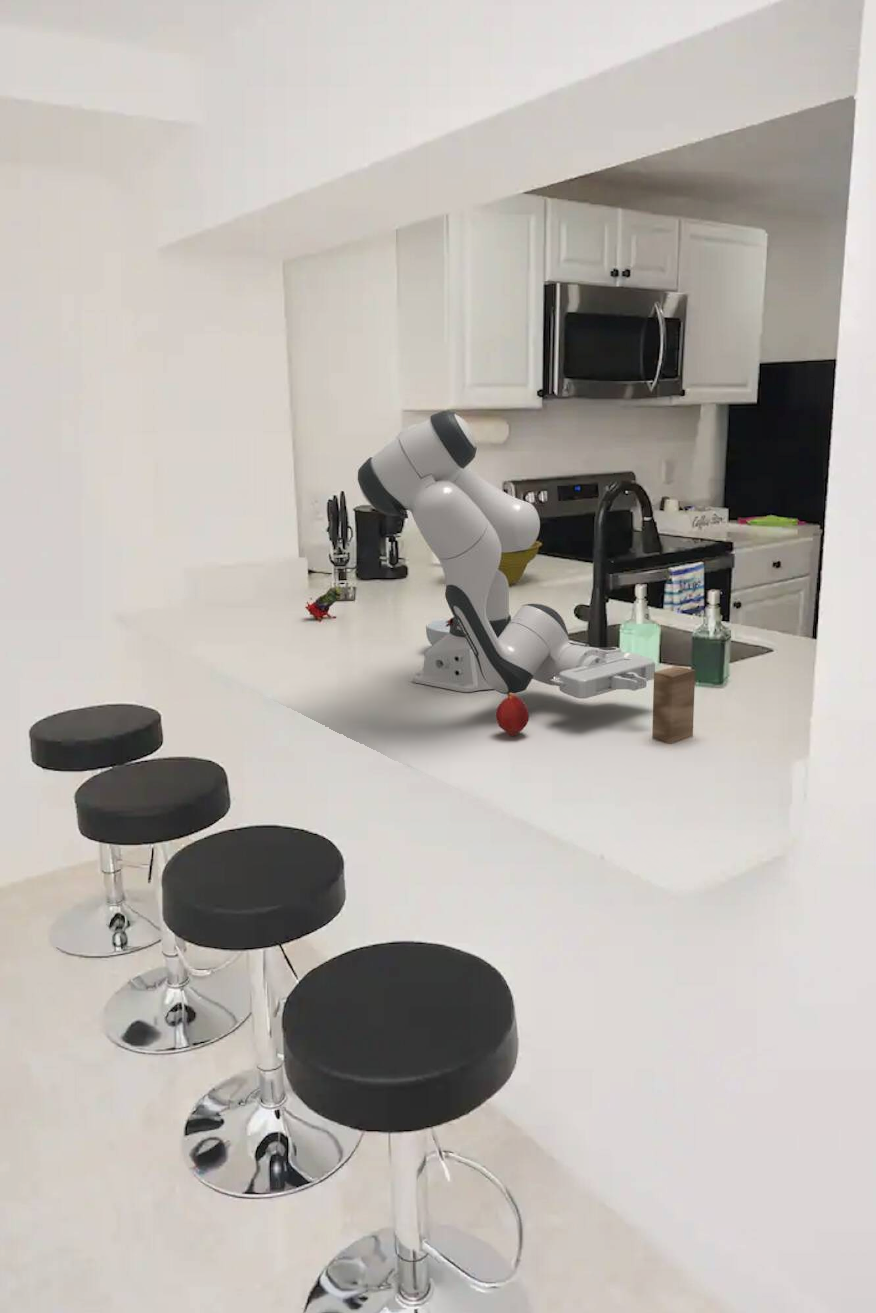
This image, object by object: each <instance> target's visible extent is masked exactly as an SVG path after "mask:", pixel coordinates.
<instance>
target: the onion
mask: <svg viewBox="0 0 876 1313" xmlns="http://www.w3.org/2000/svg"><path fill="white" fill-rule="evenodd" d="M506 695H507V698H504V699H503V700H502V701H501V702H500V703H499V704H498V707H497V708H496V710H495V721H496V723H497V724H498V726H499V727H500V729H502V731H505V733H507V734H508V736H510V737H515V736H516V735H518V734H519V733H520V732H522V731H523V730H524V729H525V727H527V724H528V722H529V720H530V719H529V718H530V713H529V710H528V707H527V705H526V703H525V702H524V701H523V700H522V699H520V698H519V697H518V696H516V694H515V693H514V694H513V693H509V694H506Z"/></svg>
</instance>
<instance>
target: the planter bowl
mask: <svg viewBox="0 0 876 1313" xmlns="http://www.w3.org/2000/svg"><path fill="white" fill-rule="evenodd" d="M542 545H543V543H542V542H541V541H538V540H536V541H535V542H534V544H533V545H532V546H531V547H530V548H528V549H525V550H520V551H514V552H501V560H500V564H499V568H498V570H500V571H501V572H502V573H503V574H504V575H505V576H506V578H507V580H508V584H509V586H512V585H514V584H515V583H516V582H518V581H519V580H521V577H522V575H523V574H524V572H525V570H526V568H527V566H528V564H529V563H530V562H531V561H533V560H534V559H535V558H536V556H537V555H538V551H539V548H540V547H541V546H542Z"/></svg>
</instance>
